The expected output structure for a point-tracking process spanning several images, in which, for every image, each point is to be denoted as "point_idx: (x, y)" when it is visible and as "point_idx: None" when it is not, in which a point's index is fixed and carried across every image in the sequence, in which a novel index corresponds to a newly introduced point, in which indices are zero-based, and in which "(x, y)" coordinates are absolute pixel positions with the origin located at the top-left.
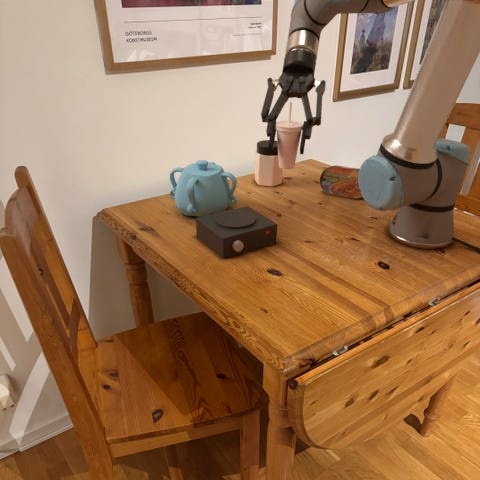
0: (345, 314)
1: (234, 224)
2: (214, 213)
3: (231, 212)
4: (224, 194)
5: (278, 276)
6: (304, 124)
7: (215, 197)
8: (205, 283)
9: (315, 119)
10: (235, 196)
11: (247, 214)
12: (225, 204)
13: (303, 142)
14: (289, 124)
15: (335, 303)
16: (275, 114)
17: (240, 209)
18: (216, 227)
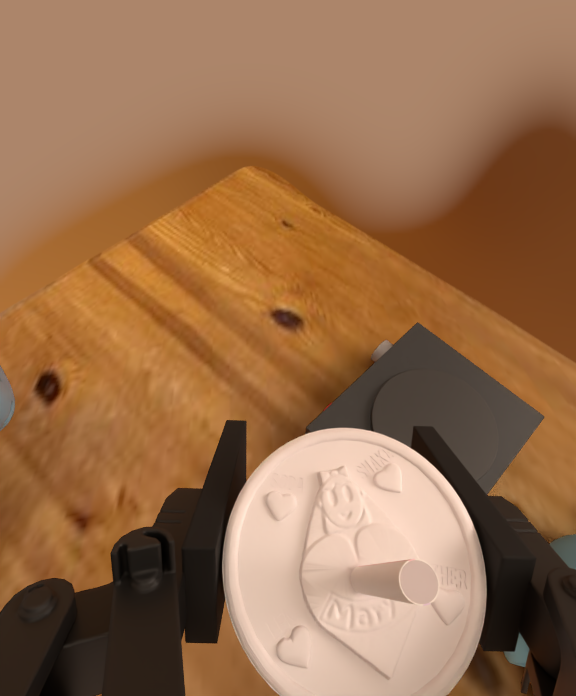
0: (165, 234)
1: (419, 381)
2: None
3: (462, 461)
4: None
5: (277, 308)
6: (211, 522)
7: (573, 556)
8: (399, 267)
9: (83, 608)
10: (525, 655)
11: None
12: None
13: (224, 435)
14: (346, 498)
15: (177, 254)
16: (562, 641)
17: None
18: (459, 371)
